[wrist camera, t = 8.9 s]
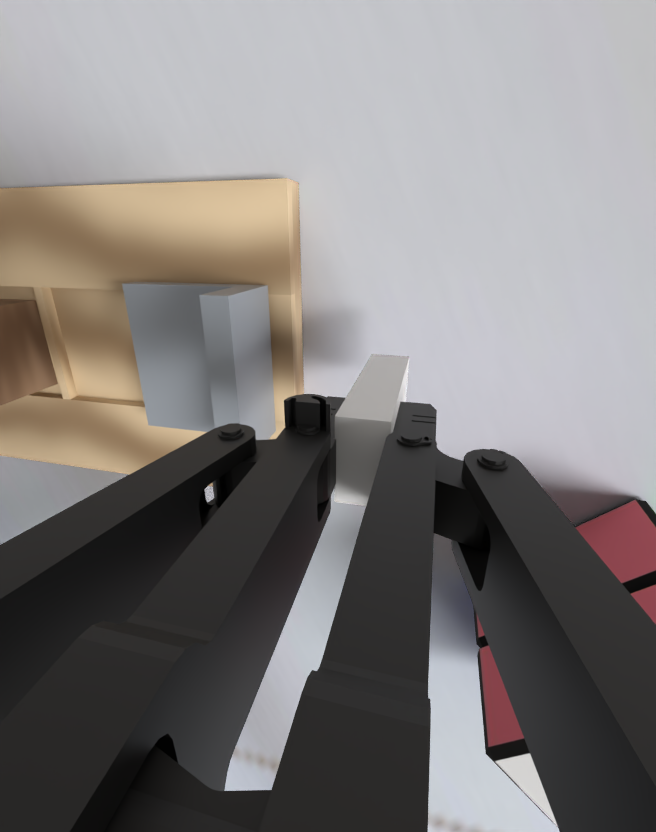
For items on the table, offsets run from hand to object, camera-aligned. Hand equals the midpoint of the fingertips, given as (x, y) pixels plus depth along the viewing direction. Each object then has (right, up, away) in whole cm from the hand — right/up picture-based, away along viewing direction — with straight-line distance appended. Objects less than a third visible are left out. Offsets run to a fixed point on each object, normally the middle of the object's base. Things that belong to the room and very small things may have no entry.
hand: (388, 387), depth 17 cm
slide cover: (-9, +2, +4) cm, 10 cm away
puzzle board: (-16, +3, +8) cm, 18 cm away
